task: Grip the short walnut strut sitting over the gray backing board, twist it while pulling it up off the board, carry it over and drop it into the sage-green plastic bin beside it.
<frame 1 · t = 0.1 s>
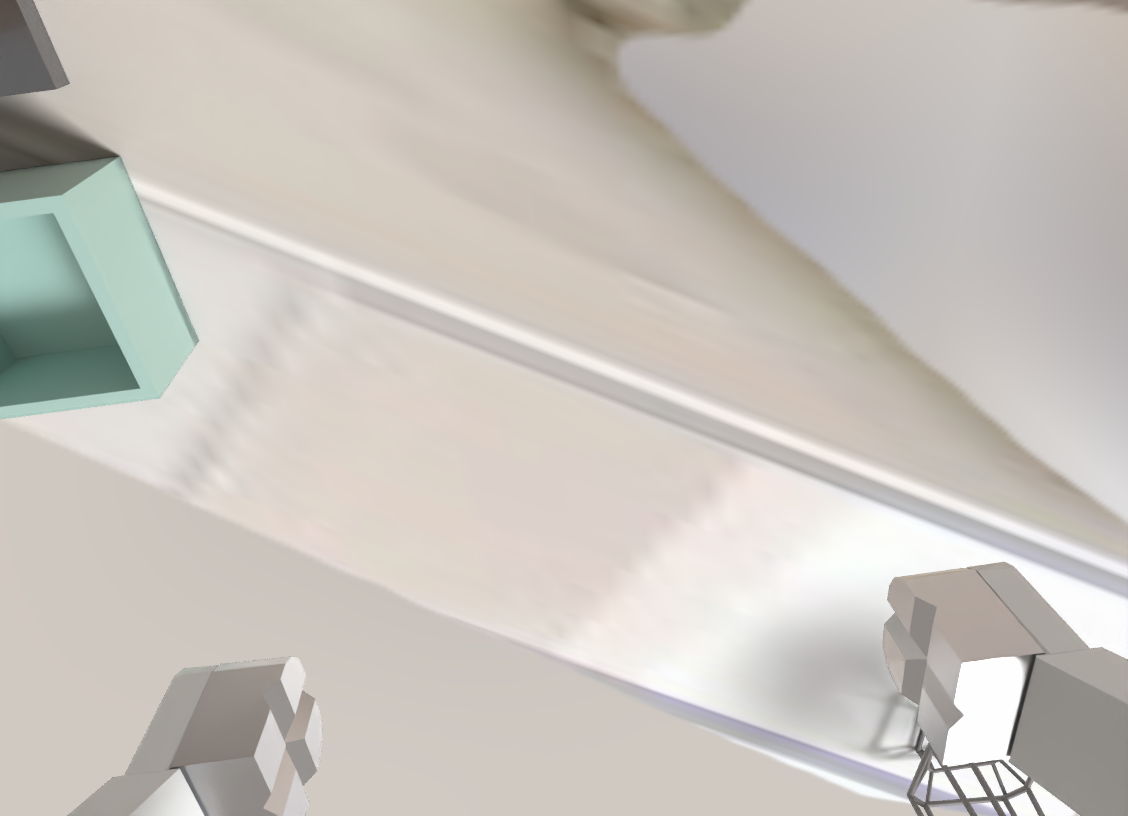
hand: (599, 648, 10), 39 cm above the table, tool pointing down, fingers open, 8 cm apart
geometric lantern: (956, 720, 81), on the table
sage bin: (64, 267, 46), on the table
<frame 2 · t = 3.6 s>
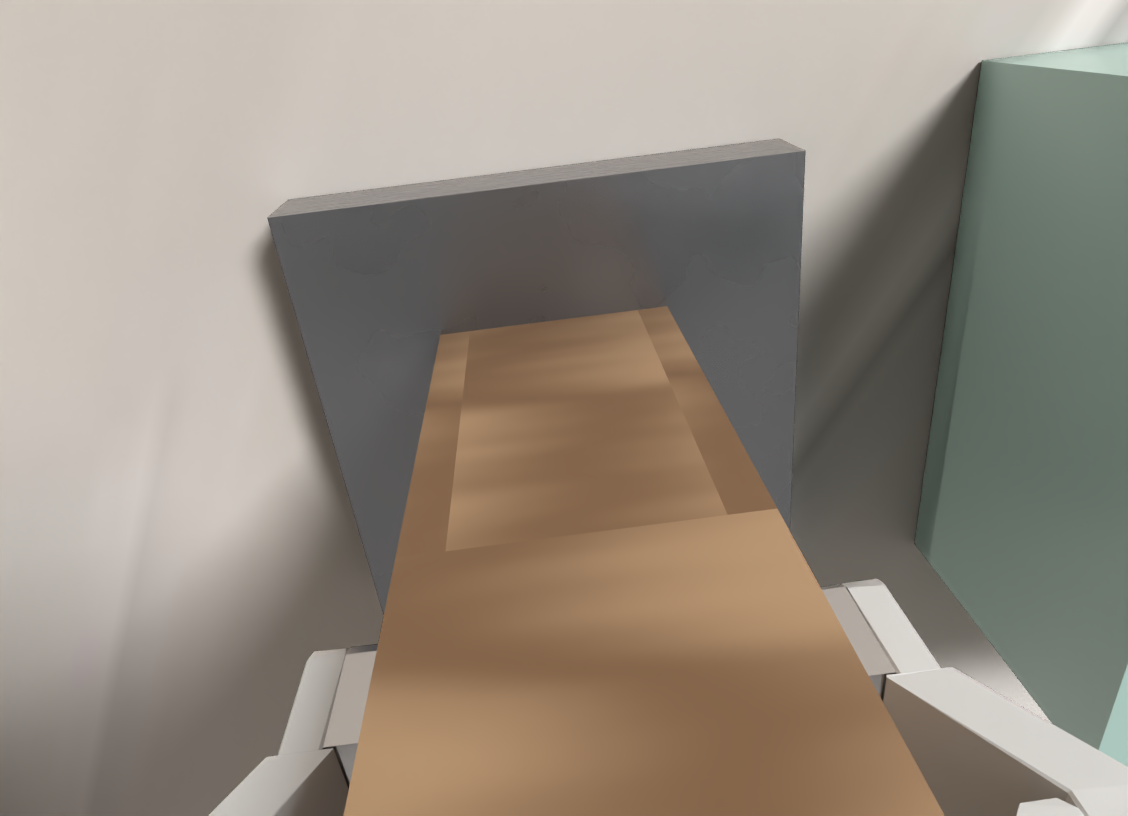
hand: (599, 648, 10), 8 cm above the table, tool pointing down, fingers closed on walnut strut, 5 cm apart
gray backing board: (561, 389, 18), on the table
walnut strut: (566, 419, 16), point 1 cm above the table, touching gray backing board, gripper
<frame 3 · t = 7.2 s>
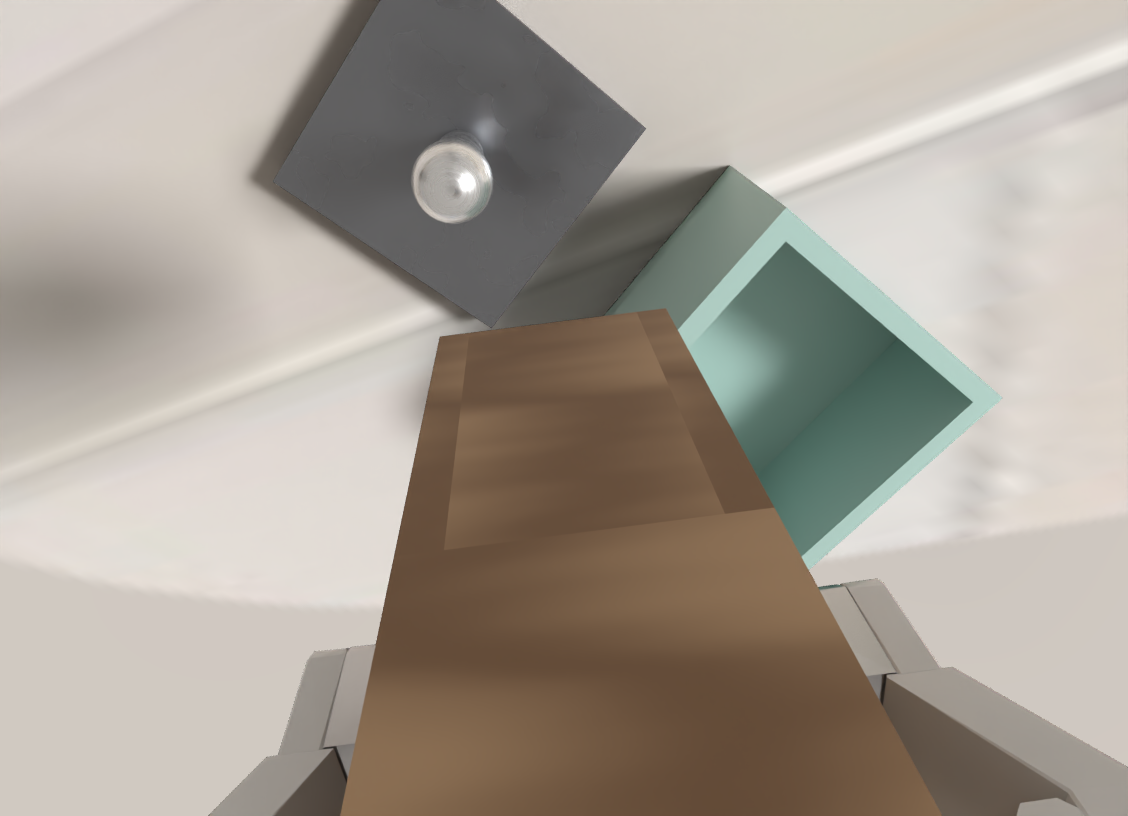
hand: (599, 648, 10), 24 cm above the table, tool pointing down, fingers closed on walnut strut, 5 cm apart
gray backing board: (461, 148, 30), on the table
walnut strut: (565, 421, 16), point 17 cm above the table, touching gripper
sage bin: (732, 353, 35), on the table
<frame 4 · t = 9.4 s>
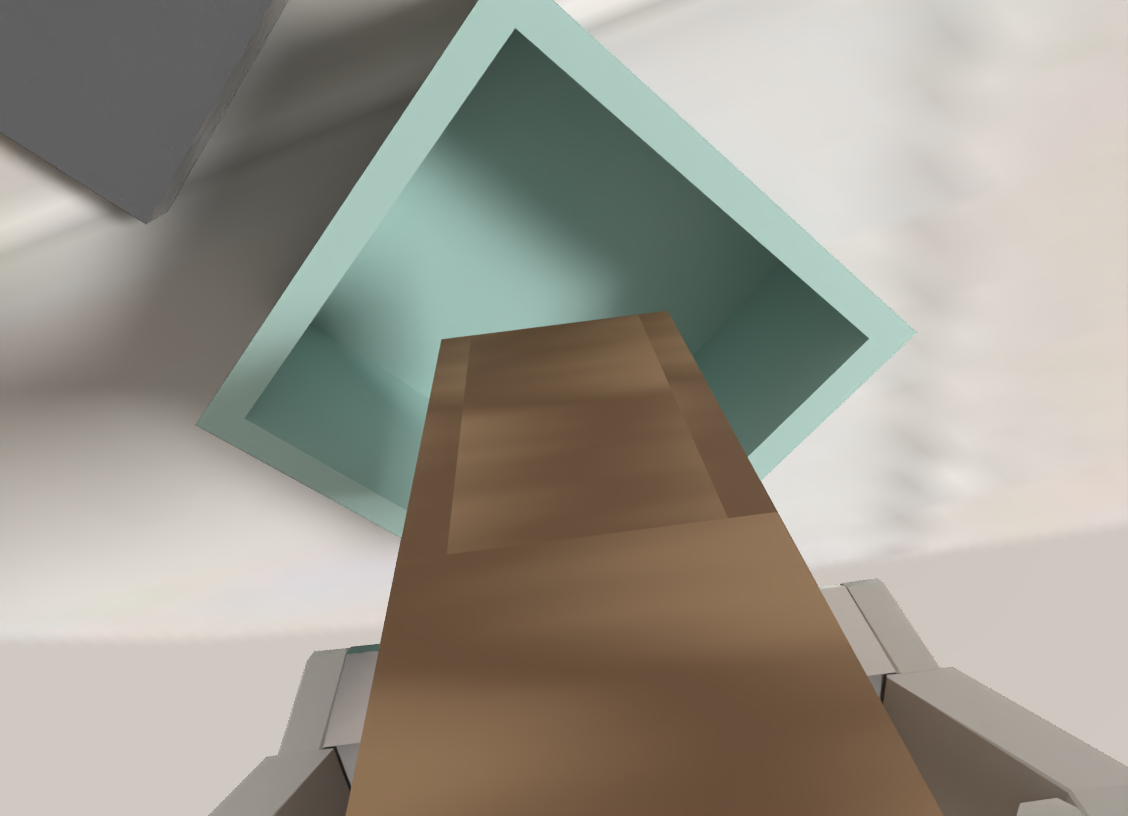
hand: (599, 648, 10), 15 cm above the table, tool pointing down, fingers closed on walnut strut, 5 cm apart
walnut strut: (566, 424, 16), point 9 cm above the table, touching gripper
sage bin: (543, 281, 24), on the table
when the fingers open (10 cm above the table, at t = 10.8 s): walnut strut drops 2 cm, resting on sage bin.
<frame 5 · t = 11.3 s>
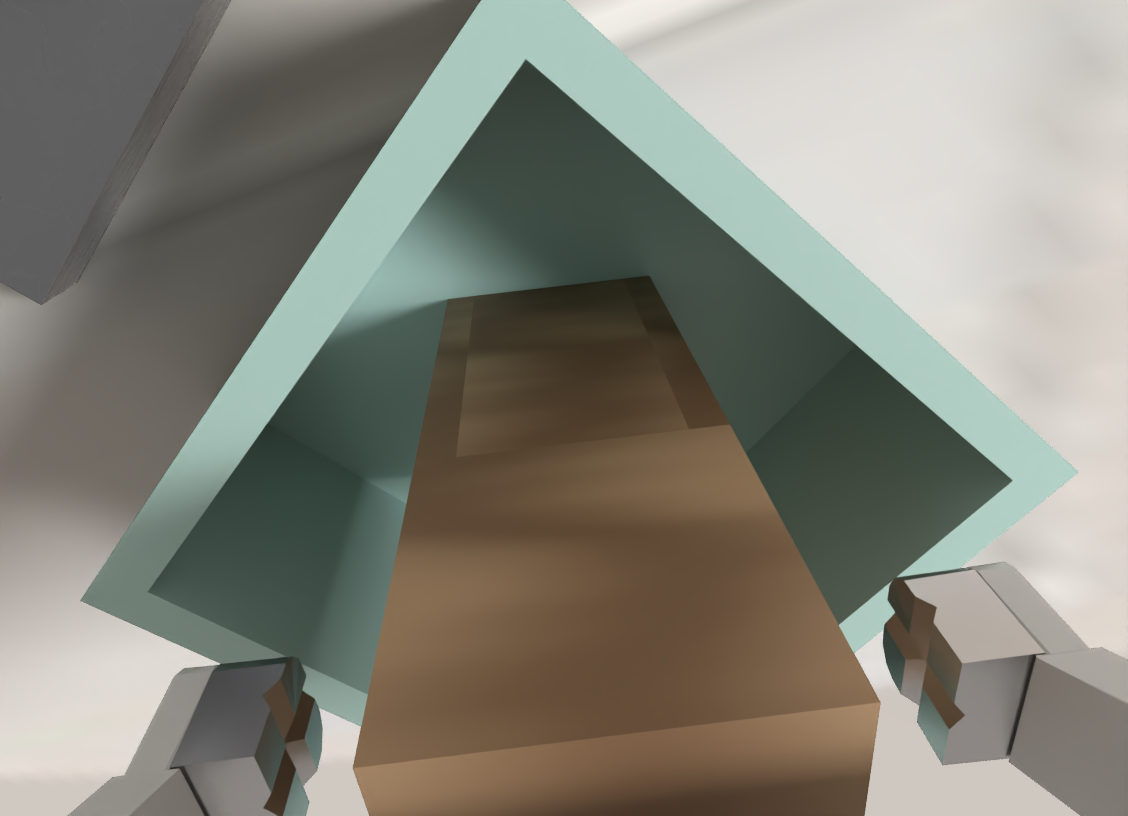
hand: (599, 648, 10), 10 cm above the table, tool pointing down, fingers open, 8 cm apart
walnut strut: (558, 378, 18), point 1 cm above the table, touching sage bin
sage bin: (557, 364, 19), on the table
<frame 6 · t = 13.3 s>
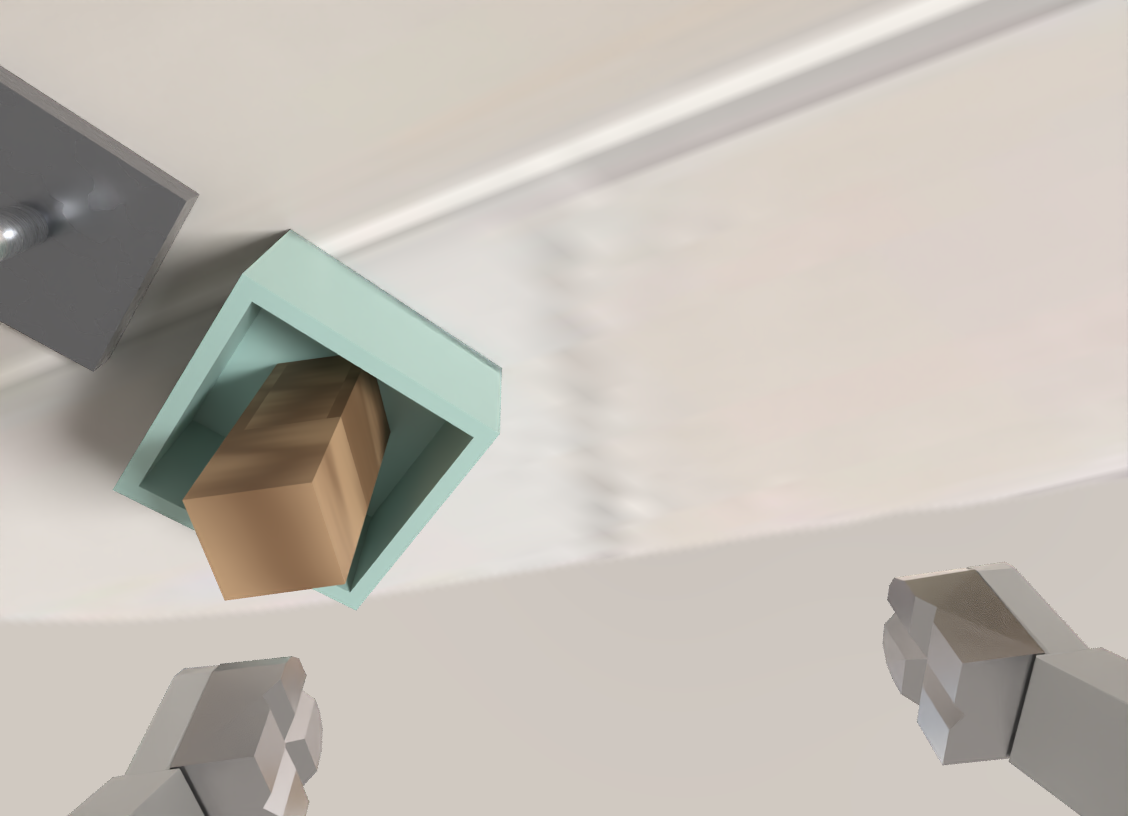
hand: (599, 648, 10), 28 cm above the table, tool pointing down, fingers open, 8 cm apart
gray backing board: (45, 217, 34), on the table
walnut strut: (335, 398, 38), point 1 cm above the table, touching sage bin
sage bin: (339, 391, 39), on the table
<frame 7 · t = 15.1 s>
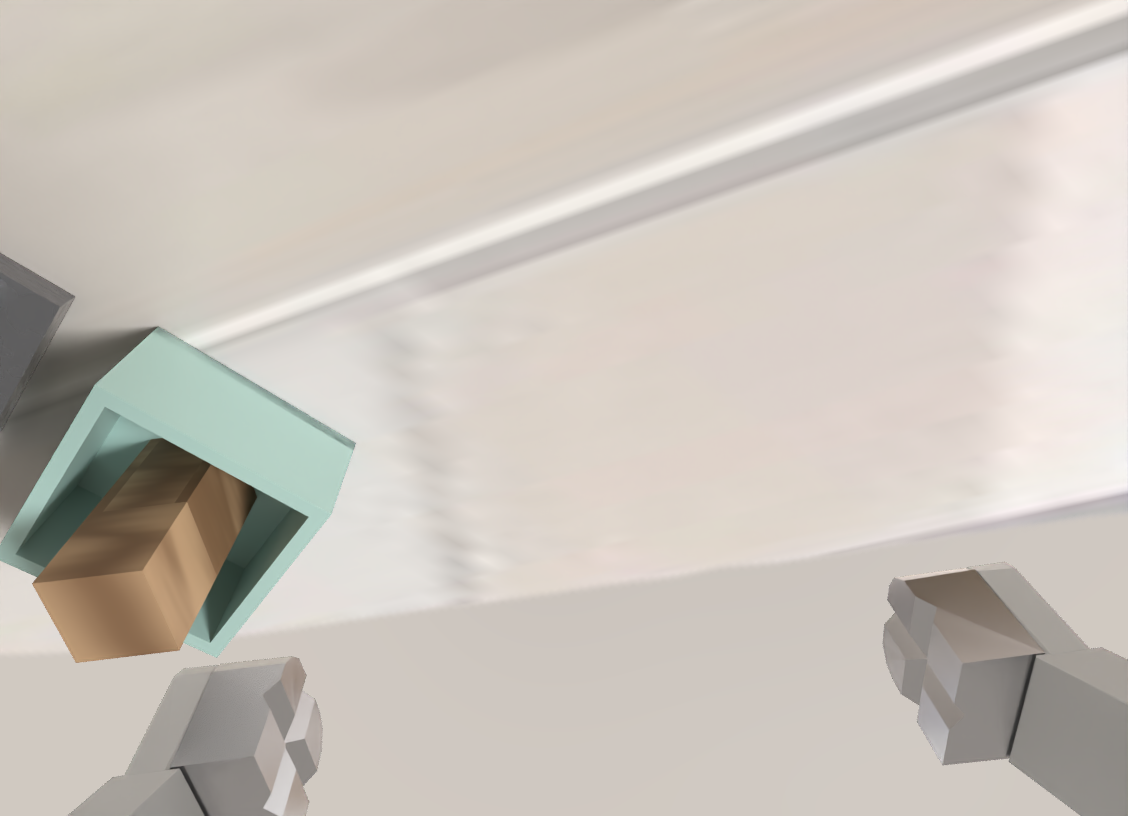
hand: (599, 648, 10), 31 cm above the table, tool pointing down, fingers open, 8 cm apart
walnut strut: (205, 468, 43), point 1 cm above the table, touching sage bin
sage bin: (210, 461, 44), on the table
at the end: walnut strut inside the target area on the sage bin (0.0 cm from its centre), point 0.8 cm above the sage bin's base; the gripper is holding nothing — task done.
